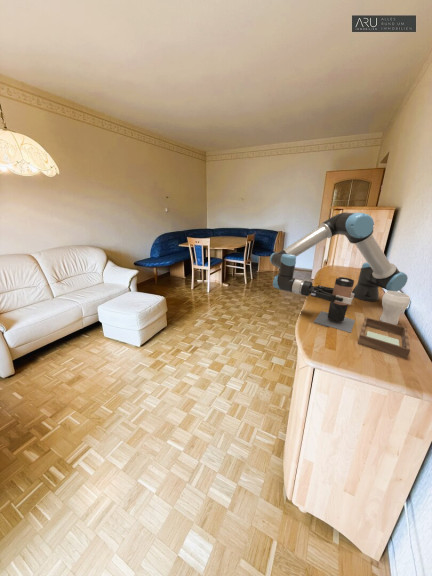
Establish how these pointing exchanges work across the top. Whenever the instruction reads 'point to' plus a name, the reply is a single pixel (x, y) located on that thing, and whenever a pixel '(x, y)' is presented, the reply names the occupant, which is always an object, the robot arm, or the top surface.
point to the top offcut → (383, 338)
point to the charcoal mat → (334, 322)
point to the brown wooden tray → (383, 345)
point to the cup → (393, 306)
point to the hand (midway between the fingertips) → (352, 299)
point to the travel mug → (342, 289)
